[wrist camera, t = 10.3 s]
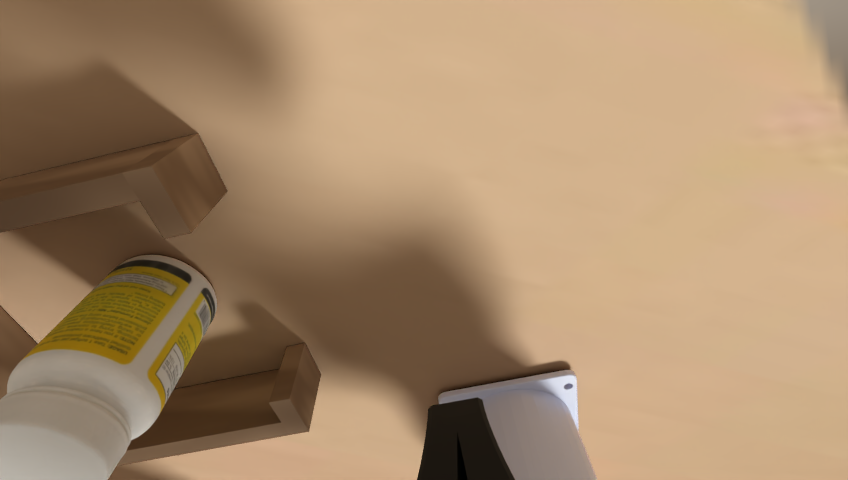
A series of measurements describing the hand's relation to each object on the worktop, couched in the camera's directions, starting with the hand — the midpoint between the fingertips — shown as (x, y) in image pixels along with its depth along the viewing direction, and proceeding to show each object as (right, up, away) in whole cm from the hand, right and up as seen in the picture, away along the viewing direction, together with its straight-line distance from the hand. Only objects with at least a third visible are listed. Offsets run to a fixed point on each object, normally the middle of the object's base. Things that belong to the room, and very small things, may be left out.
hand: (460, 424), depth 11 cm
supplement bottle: (-13, +2, +9) cm, 16 cm away
